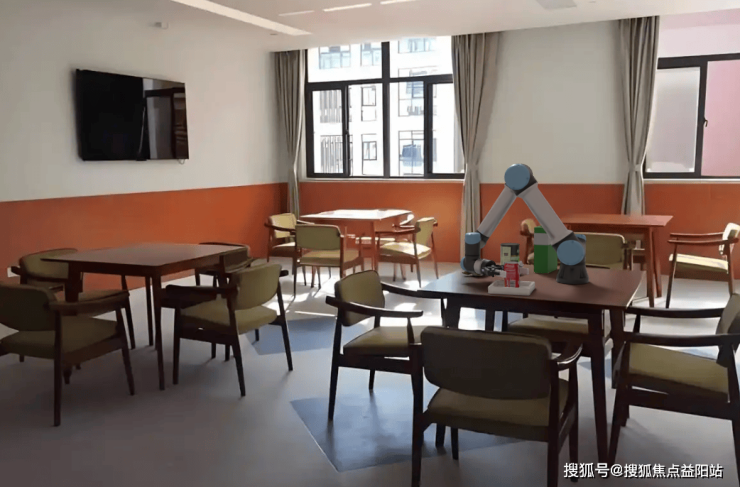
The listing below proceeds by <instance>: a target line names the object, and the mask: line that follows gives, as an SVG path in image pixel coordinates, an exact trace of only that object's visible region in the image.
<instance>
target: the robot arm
mask: <svg viewBox="0 0 740 487" xmlns="http://www.w3.org/2000/svg"><path fill="white" fill-rule="evenodd" d="M503 177H504V178H503V180H504V185H503V186H504V188H503V189H502V191H501V193H500V194H499V195H498V197H497V198H496V200H495V201H494V202H493V204H492V206H491V208H490V210H489V211H488V212H487V214H486V215H485V216H484V218H483V220H482V221H481V223H480V224H479V226H478V227H477V229H476V230H475V232H466V233H465V234H464V256H463V257H462V258H461V259H460V260H461V261H460V268H461V269H462V271H463V272H464V271H467V272H471V273H477V274H481V276H482V277H483V276H487V277H492V278H495V277H500V278H503V279H504V278H506V271H504V265H501V264H497V263H496V262H495V261H494V260H491V259H487V258H481V250H482V249H483V248H485V246H486V245H487V242H488V241H489V240H490V238H491V236H492V235H493V233H494V232H495V230H496V229H497V227H498V226H499V224H500V223H501V221H502V220H503V219H504V217H505V216H506V214H507V213H508V211H509V210H510V208H511V206H513V203H515V200H516V199H517V198H520V199H522V200H523V202H524V203H525V204H526V205H527V207H528V209H529V210H530V212H531V213H532V215H533V216H534V217H535V219H536V220H537V222H538V223H539V225H540V226H542V227H543V229H544V230H545V232H546V233H547V234H548V236H549V237H550V239H551V241H552V242H551V246H552V247H553V249H554V250H555V252H556V253H557V256H558V257H557V259H558V260H559V261H560V262H559V264H560V265H559V269H558V271H557V273H556V276H555V277H556V282H557V283H561V284H566V285H567V284H568V285H582V284H588V283H590V277H589V273H588V270H587V267H586V261H587V260H586V259H587V257H586V255H587V254H586V251H587V250H586V249H587V237H586V235H585V234H581V233H579V234H577V233H575V232H574V231H573V230H570V229H568V228H567V227H566V225H565V223H564V222H563V221H562V220H561V219H560V217H559V216H558V214H557V213H556V212H555V210H554V209H553V207H552V206H551V203H550V202H549V201H548V200H547V199H546V197H545V196H544V195H543V193H542V192H541V190H540V189H539V187H538V185H539V181H538V180H537V179H536V177H535V176H534V174H533V169H532V168H531V167H530V166H528V165H527V164H525V163H513V164H511V165H510V166H508V167H507V169H506V170H505V172H504V176H503ZM519 266H520V265H519ZM520 273H521V275H530V268H527V267H523V268H522V266H520ZM481 276H480V277H481Z"/></svg>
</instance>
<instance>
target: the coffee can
mask: <svg viewBox="0 0 740 487" xmlns="http://www.w3.org/2000/svg"><path fill="white" fill-rule="evenodd" d="M499 245H500V265H505V264H506V263H505V262H508V261H515V262H519V261H520V246H521V245H520V243H519V242H518V243H517V242H502V243H500V244H499Z"/></svg>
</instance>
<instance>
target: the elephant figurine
mask: <svg viewBox="0 0 740 487" xmlns="http://www.w3.org/2000/svg"><path fill="white" fill-rule="evenodd" d="M518 264H519V265H520V266H522V268H524V263H523V261H522V260H519V262H518ZM521 275H522V274H521V273H520V276H521Z"/></svg>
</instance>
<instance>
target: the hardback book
mask: <svg viewBox="0 0 740 487" xmlns="http://www.w3.org/2000/svg"><path fill="white" fill-rule="evenodd" d="M551 242H552V241H551V239H550V237H549V236H548V234H547V233H546V232H545V230H544V229H543V227H542V226H541V225H538V226H534V227H533V273H534V272H535V273H534V274H544V273H548V274H550V273H552V272H554V271H556V270H558V256H557V253H556V252H555V250H554V249H553V247H552V246H551ZM549 272H550V273H549Z"/></svg>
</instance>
